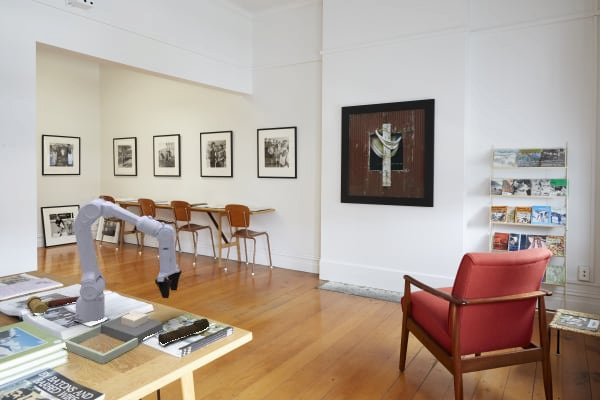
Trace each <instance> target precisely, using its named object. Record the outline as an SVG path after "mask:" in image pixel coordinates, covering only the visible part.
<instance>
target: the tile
mask: <svg viewBox="0 0 600 400" xmlns="http://www.w3.org/2000/svg"><path fill="white" fill-rule="evenodd" d="M128 313H129V314H127V313H126V314H127V315H125V314H123V315H124V316H123V315H121V316H122V317H121V324H124V325H127V326H130V327H133V328H135V327H137V326H139V325H142V324H144V323H146V322H148V318H149V315H148V314H147V313H143V312H140V311H137V310H134V311H132V312H128Z"/></svg>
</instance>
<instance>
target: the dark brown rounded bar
mask: <svg viewBox="0 0 600 400" xmlns="http://www.w3.org/2000/svg"><path fill="white" fill-rule="evenodd" d="M207 327H209V328H210V322H209V320H208V319H207V318H201V319H196V320H193V323H191V324H189V325H186V326H183V327H179V328H177V329H174V330H171V331H169V332H164V333H158V340H157V341H159V342H161V343H162V344H165V343H167V342H170V341H172V340H175V339H178V338H181V337H184V336H187V335H190V334H193V333H196V332H199V331H202V330H204V329H206V328H207ZM193 335H194V334H193ZM190 336H191V335H190ZM187 337H188V336H187ZM159 342H158V343H159Z"/></svg>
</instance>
